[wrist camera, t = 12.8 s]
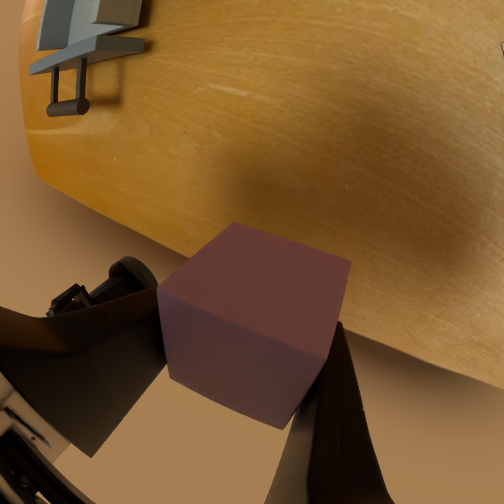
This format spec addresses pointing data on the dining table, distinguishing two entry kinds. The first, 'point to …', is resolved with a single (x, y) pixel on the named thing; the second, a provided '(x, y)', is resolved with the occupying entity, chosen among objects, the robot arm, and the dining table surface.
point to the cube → (252, 321)
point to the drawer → (82, 42)
